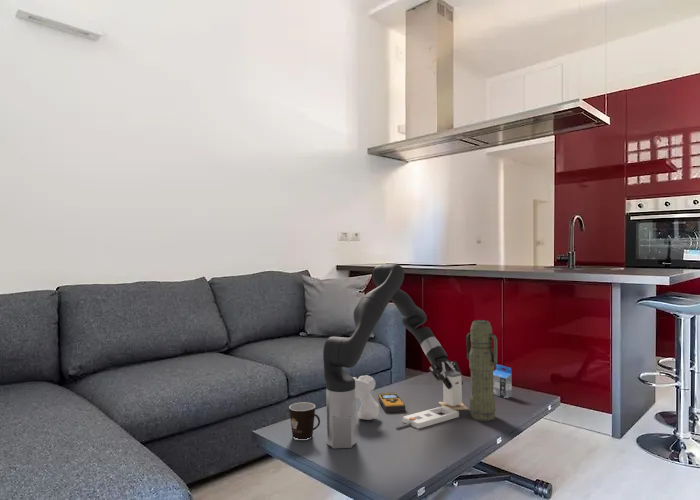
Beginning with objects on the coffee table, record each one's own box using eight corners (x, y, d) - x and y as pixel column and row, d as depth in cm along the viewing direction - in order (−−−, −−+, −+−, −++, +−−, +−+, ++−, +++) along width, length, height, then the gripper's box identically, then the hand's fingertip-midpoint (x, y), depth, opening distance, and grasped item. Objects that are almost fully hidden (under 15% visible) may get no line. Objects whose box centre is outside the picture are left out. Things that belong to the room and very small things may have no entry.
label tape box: (489, 393, 190) (489, 364, 191) (496, 392, 192) (495, 363, 193) (505, 399, 183) (505, 369, 183) (512, 397, 185) (512, 367, 185)
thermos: (472, 410, 170) (470, 318, 170) (502, 417, 162) (501, 320, 163) (462, 417, 163) (460, 320, 163) (493, 424, 155) (492, 323, 156)
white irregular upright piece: (370, 426, 155) (370, 382, 155) (343, 420, 161) (343, 378, 161) (383, 417, 163) (383, 376, 163) (357, 412, 169) (357, 372, 169)
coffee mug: (286, 434, 148) (286, 404, 148) (311, 430, 152) (310, 400, 152) (296, 448, 137) (295, 415, 138) (322, 443, 141) (322, 411, 141)
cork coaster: (467, 409, 170) (467, 408, 170) (444, 410, 170) (444, 409, 170) (460, 402, 179) (460, 401, 179) (438, 402, 179) (438, 401, 179)
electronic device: (384, 414, 168) (384, 405, 168) (377, 401, 184) (377, 392, 184) (406, 413, 169) (406, 404, 169) (397, 399, 185) (397, 391, 185)
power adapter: (462, 403, 174) (461, 373, 174) (453, 406, 171) (452, 374, 171) (452, 400, 178) (451, 370, 178) (443, 402, 175) (442, 372, 176)
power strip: (458, 416, 163) (458, 410, 163) (404, 432, 149) (404, 425, 149) (443, 410, 170) (443, 404, 170) (389, 425, 155) (389, 418, 155)
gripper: (425, 347, 177) (447, 384, 167) (450, 343, 185) (473, 378, 175) (416, 358, 182) (437, 395, 171) (441, 353, 189) (463, 388, 179)
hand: (455, 386), depth 173 cm, fingers open, 5 cm apart
